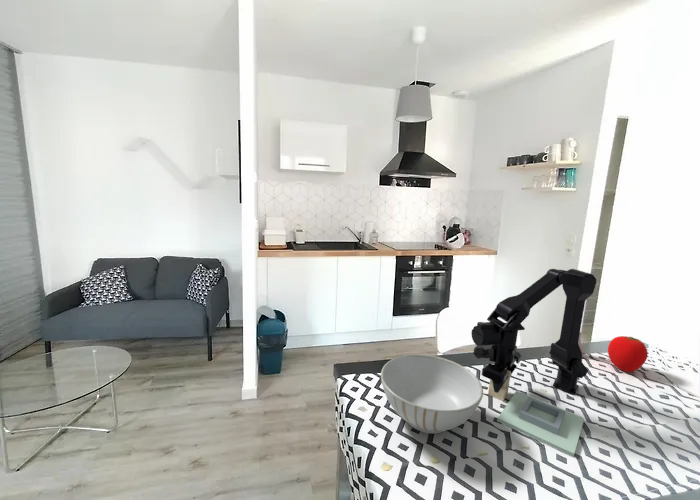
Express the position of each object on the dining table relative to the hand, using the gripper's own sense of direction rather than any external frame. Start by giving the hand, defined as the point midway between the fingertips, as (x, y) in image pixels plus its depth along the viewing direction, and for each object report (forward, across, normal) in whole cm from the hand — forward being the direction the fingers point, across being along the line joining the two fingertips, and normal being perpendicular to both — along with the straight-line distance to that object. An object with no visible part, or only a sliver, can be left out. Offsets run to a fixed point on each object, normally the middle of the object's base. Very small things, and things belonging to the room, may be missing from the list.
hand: (498, 388), depth 105 cm
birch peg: (+2, 0, 0) cm, 2 cm away
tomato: (+2, -51, +29) cm, 59 cm away
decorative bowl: (+2, +26, -11) cm, 28 cm away
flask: (+2, -51, +13) cm, 53 cm away
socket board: (+2, +4, +13) cm, 14 cm away
